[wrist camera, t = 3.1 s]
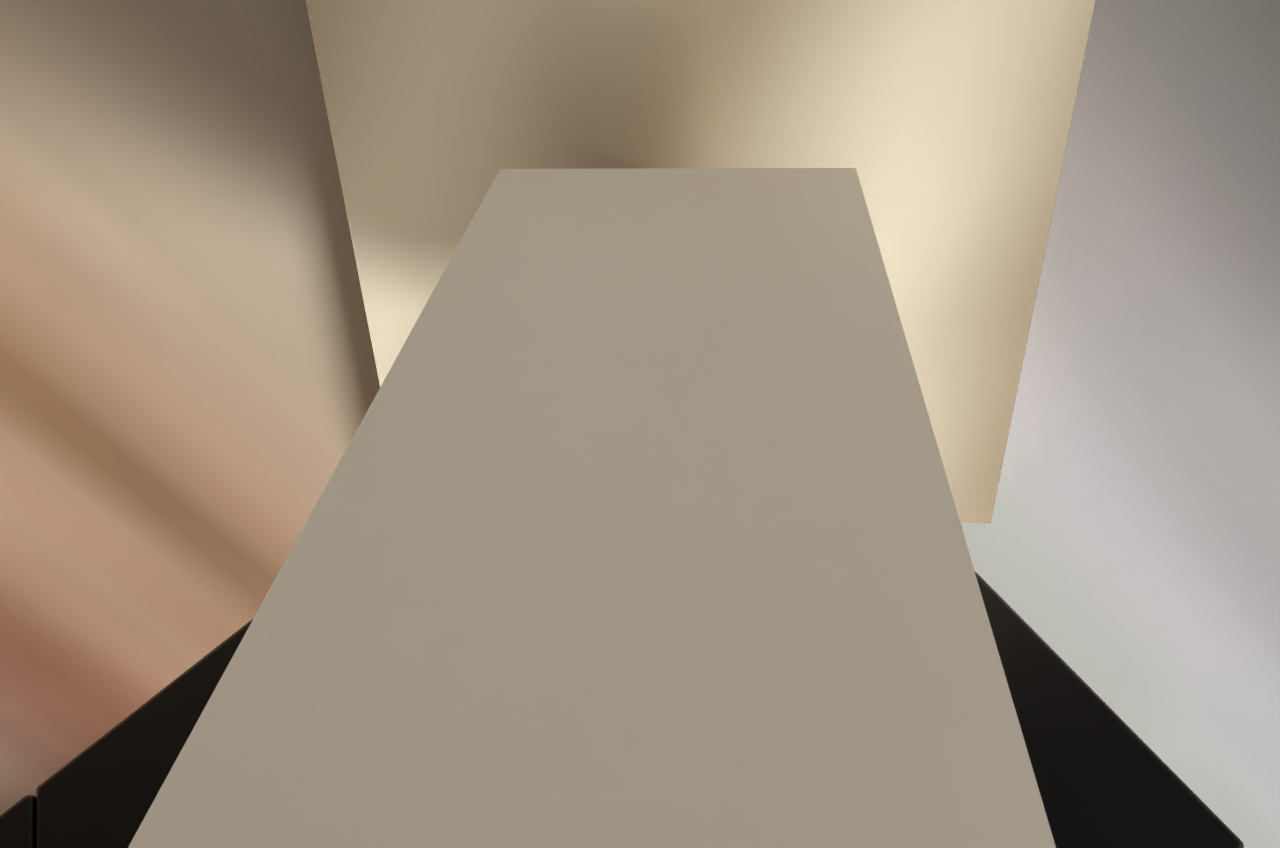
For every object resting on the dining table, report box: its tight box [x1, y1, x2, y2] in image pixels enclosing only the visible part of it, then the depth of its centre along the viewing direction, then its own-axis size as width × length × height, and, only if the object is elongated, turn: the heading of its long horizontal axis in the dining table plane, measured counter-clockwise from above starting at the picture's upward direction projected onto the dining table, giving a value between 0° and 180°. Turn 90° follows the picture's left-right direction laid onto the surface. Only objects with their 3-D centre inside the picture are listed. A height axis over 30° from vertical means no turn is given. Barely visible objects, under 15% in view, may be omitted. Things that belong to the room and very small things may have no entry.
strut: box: [128, 168, 1056, 848], centre depth 9 cm, size 4×4×9 cm
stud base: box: [305, 0, 1096, 523], centre depth 13 cm, size 10×10×5 cm
